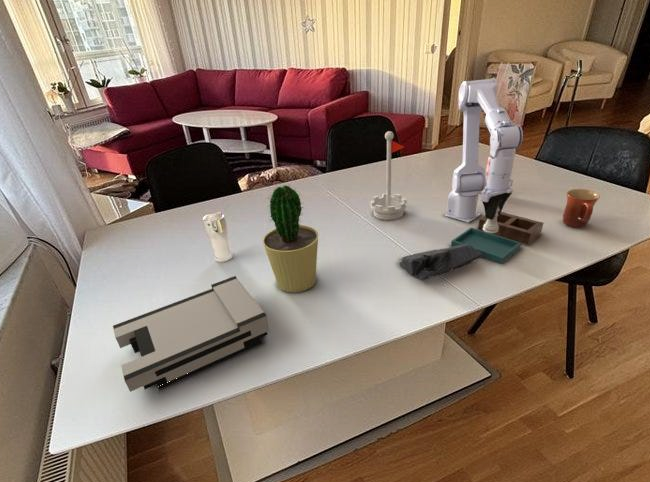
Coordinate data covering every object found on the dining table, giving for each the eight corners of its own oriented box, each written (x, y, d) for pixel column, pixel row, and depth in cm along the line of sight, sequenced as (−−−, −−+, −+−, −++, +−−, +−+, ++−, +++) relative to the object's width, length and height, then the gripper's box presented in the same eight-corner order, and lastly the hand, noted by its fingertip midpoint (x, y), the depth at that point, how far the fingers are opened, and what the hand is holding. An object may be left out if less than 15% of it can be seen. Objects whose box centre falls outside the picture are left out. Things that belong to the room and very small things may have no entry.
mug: (555, 217, 133) (563, 189, 127) (584, 217, 131) (593, 188, 125) (566, 234, 123) (575, 204, 118) (598, 235, 121) (609, 204, 116)
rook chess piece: (479, 228, 121) (483, 204, 116) (494, 226, 121) (498, 202, 117) (486, 235, 117) (490, 210, 113) (501, 233, 117) (505, 208, 113)
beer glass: (238, 252, 134) (228, 212, 125) (228, 263, 128) (217, 222, 120) (220, 251, 136) (210, 211, 128) (209, 261, 131) (198, 221, 122)
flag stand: (366, 219, 146) (365, 136, 129) (375, 204, 155) (375, 126, 139) (402, 222, 141) (405, 137, 124) (409, 207, 151) (412, 126, 134)
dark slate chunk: (491, 264, 110) (491, 248, 108) (418, 283, 107) (418, 267, 105) (460, 246, 123) (460, 232, 121) (395, 262, 120) (394, 248, 118)
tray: (450, 246, 124) (451, 240, 123) (470, 232, 130) (470, 227, 129) (501, 263, 113) (502, 258, 112) (520, 248, 119) (521, 242, 118)
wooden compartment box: (477, 229, 131) (479, 218, 129) (491, 220, 136) (493, 209, 134) (527, 245, 120) (530, 233, 118) (540, 234, 125) (543, 222, 123)
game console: (123, 346, 99) (110, 321, 94) (241, 299, 111) (235, 275, 106) (136, 403, 83) (122, 376, 79) (272, 341, 95) (266, 315, 91)
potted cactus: (304, 302, 107) (290, 199, 91) (260, 289, 114) (240, 191, 98) (332, 273, 117) (324, 177, 101) (290, 263, 125) (276, 171, 109)
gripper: (501, 182, 103) (493, 229, 110) (526, 166, 110) (517, 211, 117) (476, 177, 107) (469, 222, 115) (502, 162, 115) (494, 205, 122)
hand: (492, 216), depth 116 cm, fingers closed on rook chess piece, 3 cm apart
